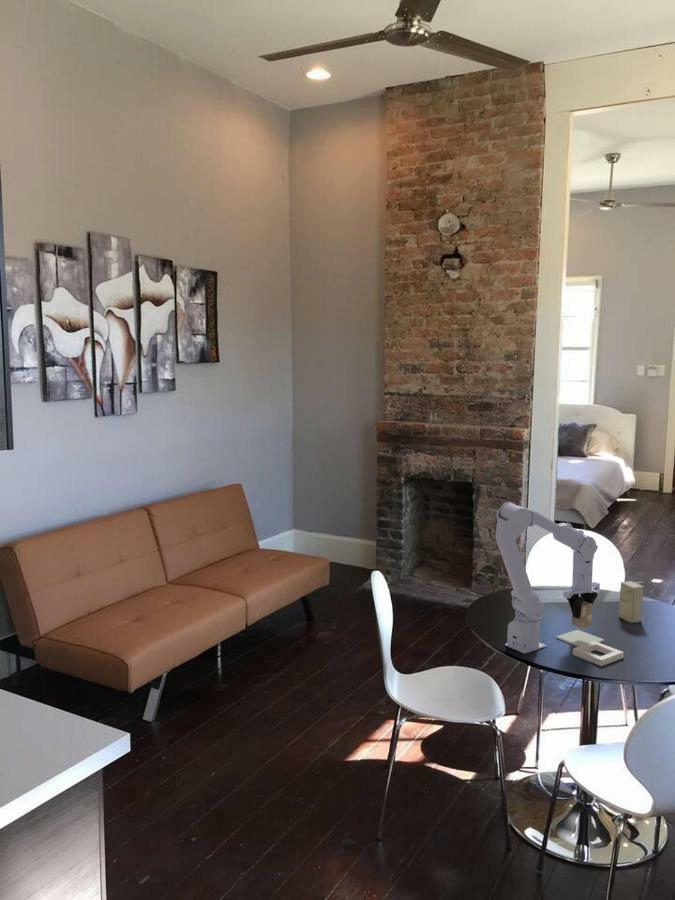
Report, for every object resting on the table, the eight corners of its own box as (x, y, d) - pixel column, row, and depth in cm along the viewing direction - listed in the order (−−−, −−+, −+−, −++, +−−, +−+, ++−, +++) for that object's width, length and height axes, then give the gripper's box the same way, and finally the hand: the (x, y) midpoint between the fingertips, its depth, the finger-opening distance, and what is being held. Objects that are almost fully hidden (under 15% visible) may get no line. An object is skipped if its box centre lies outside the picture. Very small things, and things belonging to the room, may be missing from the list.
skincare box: (618, 617, 247) (619, 581, 245) (629, 615, 248) (630, 580, 247) (631, 623, 241) (633, 587, 240) (642, 621, 243) (644, 586, 241)
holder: (601, 666, 209) (601, 660, 208) (572, 654, 217) (572, 648, 217) (623, 657, 214) (623, 652, 214) (594, 646, 222) (594, 641, 222)
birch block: (582, 628, 224) (583, 606, 223) (571, 624, 228) (572, 602, 227) (591, 625, 226) (591, 603, 226) (580, 621, 230) (581, 600, 229)
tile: (582, 648, 221) (583, 646, 221) (556, 638, 229) (556, 636, 229) (604, 641, 226) (604, 639, 226) (577, 631, 235) (577, 629, 235)
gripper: (577, 580, 218) (576, 624, 220) (608, 572, 226) (607, 614, 228) (558, 574, 224) (557, 617, 225) (589, 566, 232) (588, 608, 233)
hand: (581, 616), depth 227 cm, fingers closed on birch block, 4 cm apart
